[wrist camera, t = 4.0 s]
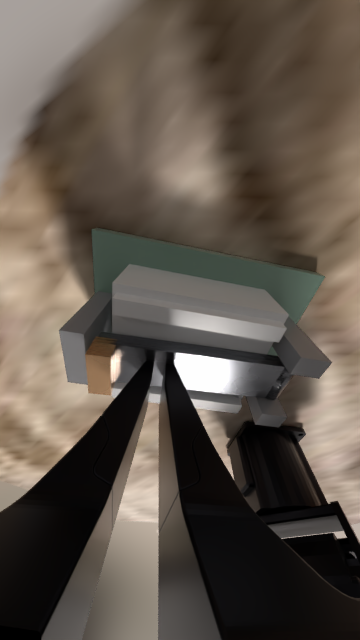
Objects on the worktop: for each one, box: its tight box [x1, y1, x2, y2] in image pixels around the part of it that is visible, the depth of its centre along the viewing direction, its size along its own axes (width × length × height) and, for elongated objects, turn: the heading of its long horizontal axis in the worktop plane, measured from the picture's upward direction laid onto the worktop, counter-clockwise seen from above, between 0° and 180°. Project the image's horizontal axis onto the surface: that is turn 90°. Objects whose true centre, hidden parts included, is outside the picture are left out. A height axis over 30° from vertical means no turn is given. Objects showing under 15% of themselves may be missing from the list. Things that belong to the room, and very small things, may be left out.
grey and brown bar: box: [85, 332, 294, 400], centre depth 9 cm, size 10×2×2 cm, turn 79°
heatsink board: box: [59, 228, 332, 427], centre depth 11 cm, size 13×10×5 cm
